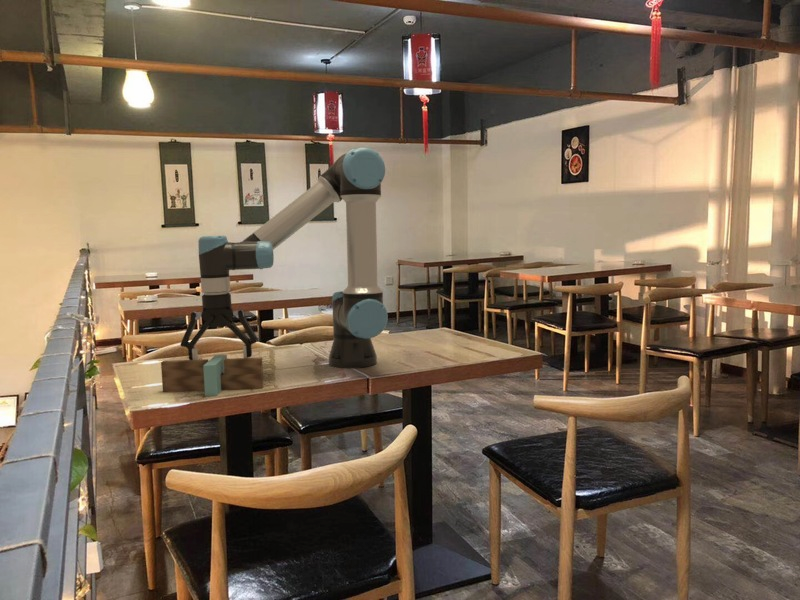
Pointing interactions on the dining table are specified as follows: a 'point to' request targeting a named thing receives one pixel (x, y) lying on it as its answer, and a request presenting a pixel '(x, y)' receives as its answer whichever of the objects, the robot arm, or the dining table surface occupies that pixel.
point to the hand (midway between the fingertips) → (221, 370)
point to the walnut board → (192, 374)
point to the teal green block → (213, 375)
